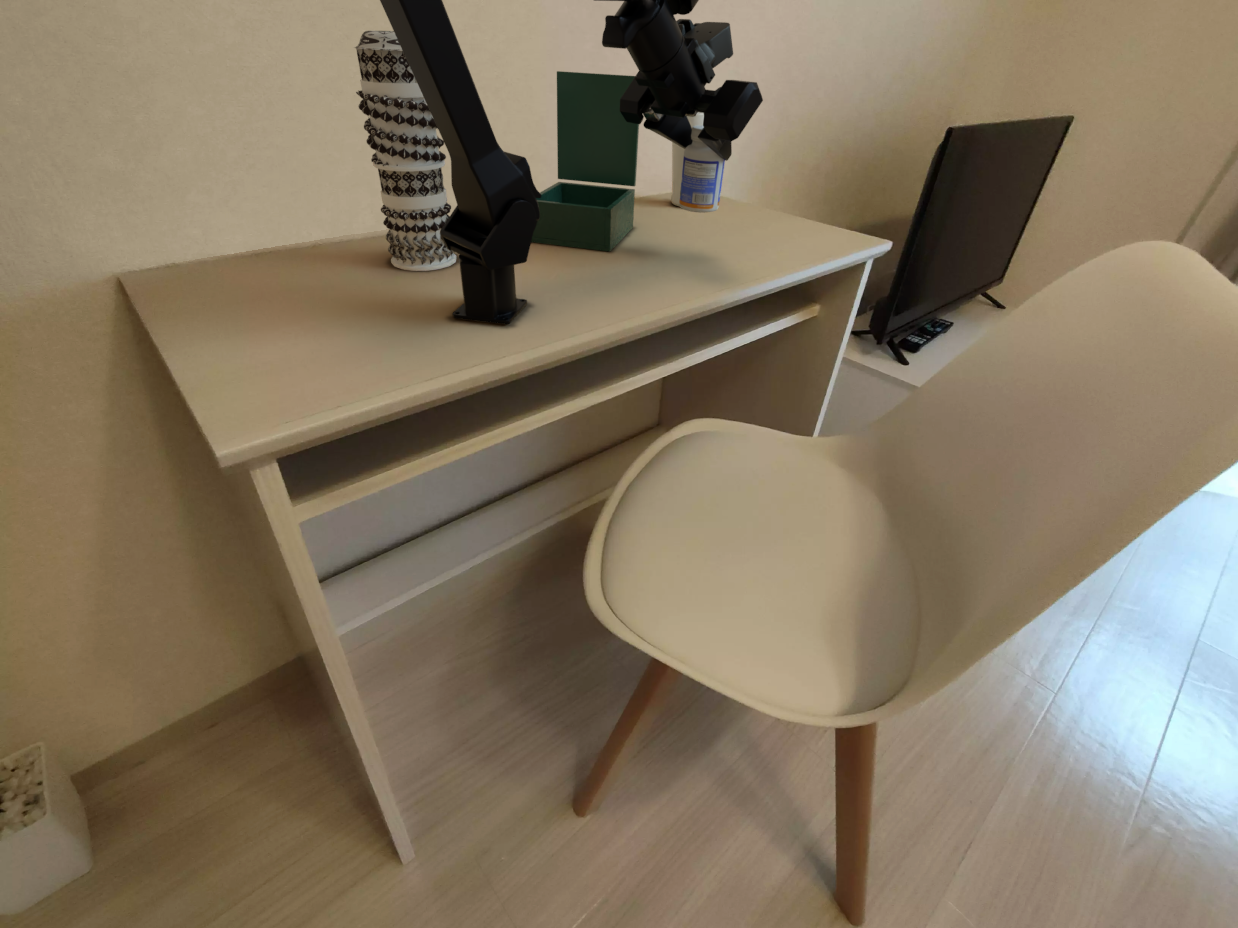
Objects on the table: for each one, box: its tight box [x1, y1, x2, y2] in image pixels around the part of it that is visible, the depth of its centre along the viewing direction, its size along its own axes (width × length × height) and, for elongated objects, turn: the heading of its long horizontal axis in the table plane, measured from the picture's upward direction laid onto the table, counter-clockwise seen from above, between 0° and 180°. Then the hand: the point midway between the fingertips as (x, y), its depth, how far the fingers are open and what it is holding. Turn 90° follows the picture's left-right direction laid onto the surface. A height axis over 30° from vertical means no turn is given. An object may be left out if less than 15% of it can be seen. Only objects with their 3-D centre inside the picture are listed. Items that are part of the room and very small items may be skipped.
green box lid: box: [556, 70, 640, 187], centre depth 93 cm, size 14×13×4 cm
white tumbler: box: [670, 112, 704, 208], centre depth 108 cm, size 7×7×15 cm
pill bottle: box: [679, 126, 726, 214], centre depth 80 cm, size 5×5×10 cm
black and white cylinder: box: [353, 30, 458, 272], centre depth 74 cm, size 9×9×25 cm
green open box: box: [531, 181, 636, 252], centre depth 92 cm, size 14×13×6 cm
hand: (711, 154), depth 80 cm, fingers closed on pill bottle, 5 cm apart
